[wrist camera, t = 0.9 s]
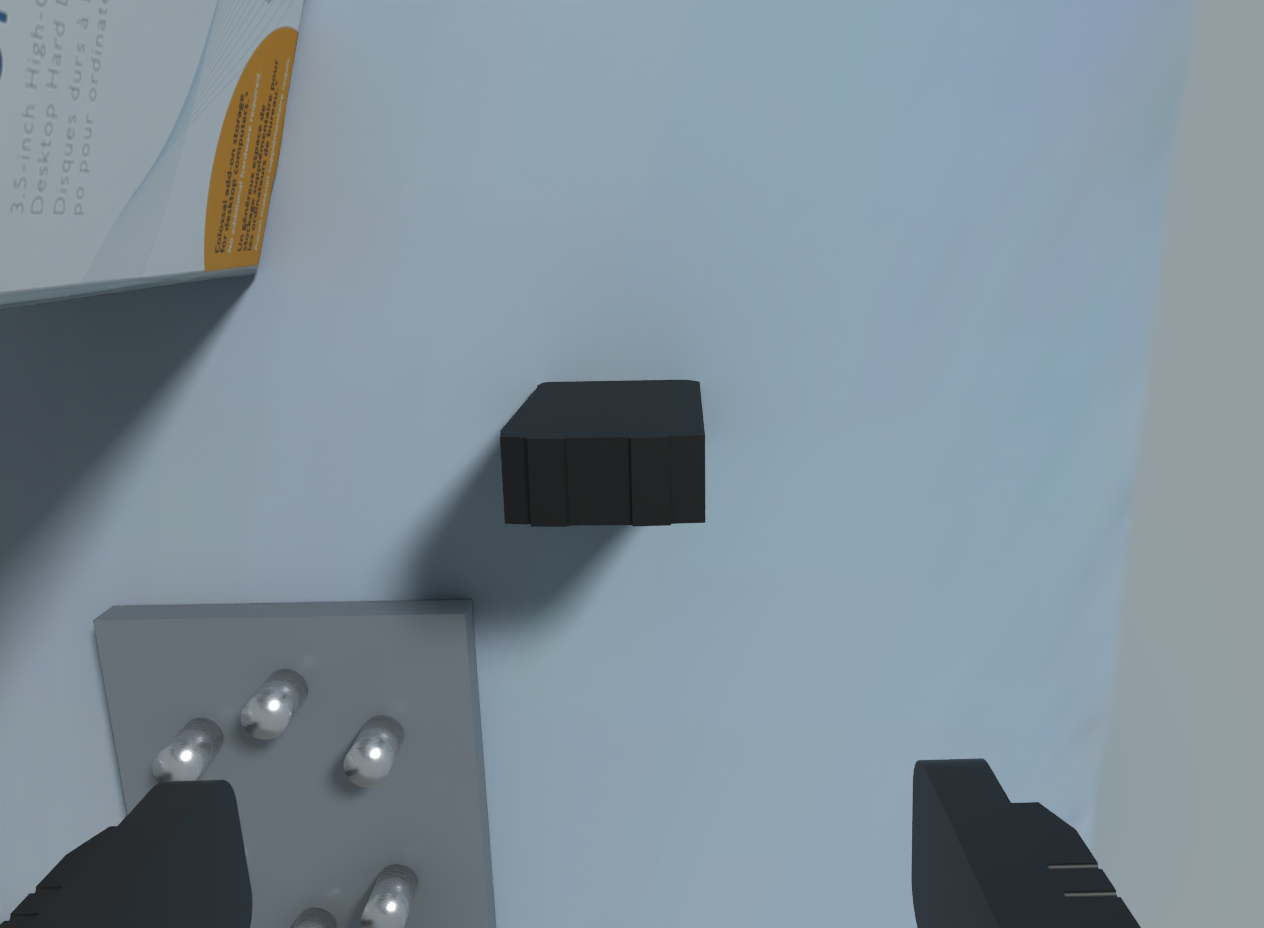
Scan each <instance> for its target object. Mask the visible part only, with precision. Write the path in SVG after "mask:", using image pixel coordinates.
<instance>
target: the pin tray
mask: <svg viewBox="0 0 1264 928" xmlns="http://www.w3.org/2000/svg"><path fill="white" fill-rule="evenodd" d="M93 623H94V628H95V634H96V640H97V645H98V651H99V657H100V662H101V668H102V674H103V679H104V685H105V691H106V696H107V702H108V708H109V713H110V719H111V725H112V730H113V736H114V742H115V747H116V753H117V759H118V764H119V770H120V776H121V781H122V787H123V793H124V798H125V804H126V810H127V815H128V814H129V813H130V812H131V811H132V810H133V809H134V807H135V806H136V805H137V804H138V803H139V802H140V801H141V800H142V799H143V797H144V796H145V795H146V794H147V793H148V792H149V791H150V790H151V789H152V788H153V787H154V786H155V785H156V784H158V783H160V782H164V781H196V780H226V781H227V782H229V783H230V785H231V786H232V788H233V790H234V793H235V796H236V800H237V806H238V812H239V818H240V824H241V830H242V836H243V842H244V848H245V854H246V860H247V866H248V872H249V878H250V884H251V890H252V902H253V905H252V919H251V925H250V928H496V919H495V905H494V892H493V879H492V865H491V852H490V838H489V825H488V812H487V798H486V785H485V771H484V758H483V745H482V731H481V718H480V704H479V691H478V678H477V664H476V651H475V637H474V624H473V611H472V599H470V600H415V601H360V602H305V603H251V604H196V605H141V606H112V607H111V608H109V609H108V610H107V611H105V612H104V613H103V614H101V615H100V616H99V617H97V618H96V619H94V620H93Z"/></svg>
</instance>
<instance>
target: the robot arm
mask: <svg viewBox="0 0 1264 928" xmlns="http://www.w3.org/2000/svg"><path fill="white" fill-rule="evenodd" d="M912 894H913V904H914V911H915V917H916V923H917V927H918V928H1141V927H1140V926H1139V924H1138V923H1137V921H1136V920H1135V919H1134V917H1133V915H1132V914H1131V912H1130V911H1129V909H1128V908H1127V906H1126V905H1125V903H1124V902H1123V900H1122V899H1121V897H1117V895H1116V890H1115V888H1114V887H1113V885H1112V884H1111V882H1110V881H1109V879H1108V878H1107V876H1106V875H1105V873H1104V872H1103V870H1102V869H1098V864H1097V861H1096V859H1095V858H1094V856H1093V855H1092V853H1091V852H1090V850H1089V849H1088V847H1087V846H1086V844H1085V843H1084V841H1083V840H1082V838H1081V837H1080V835H1079V834H1078V832H1077V831H1076V830H1075V829H1074V828H1073V827H1071V826H1070V825H1069V824H1067V823H1066V822H1064V821H1063V820H1062V819H1060V818H1059V817H1058V816H1056V815H1055V814H1053V813H1052V812H1051V811H1049V810H1048V809H1047V808H1045V807H1044V806H1042V805H1041V804H1040V803H1038V802H1034V803H1011V802H1010V800H1009V799H1008V797H1007V795H1006V794H1005V792H1004V790H1003V788H1002V787H1001V785H1000V783H999V782H998V780H997V778H996V776H995V775H994V773H993V771H992V770H991V768H990V766H989V765H988V763H987V762H986V761H985V760H984V759H949V760H919V761H917V762H916V764H915V768H914V775H913V821H912ZM252 905H253V902H252V890H251V884H250V878H249V872H248V866H247V860H246V854H245V848H244V842H243V836H242V830H241V824H240V818H239V812H238V806H237V800H236V796H235V793H234V790H233V788H232V786H231V785H230V783H229V782H227V781H226V780H196V781H164V782H160V783H158V784H156V785H155V786H154V787H153V788H152V789H151V790H150V791H149V792H148V793H147V794H146V795H145V796H144V797H143V799H142V800H141V801H140V802H139V803H138V804H137V805H136V806H135V807H134V809H133V810H132V811H131V812H130V813H129V814H128V815H127V816H126V817H125V819H124V820H123V821H122V822H121V823H120V824H119V825H118V826H112V827H108V828H107V829H105V830H104V831H102V832H101V833H99V834H97V835H96V836H94V837H93V838H91V839H90V840H88V841H87V842H85V843H84V844H82V845H80V846H79V847H77V848H76V849H74V850H73V851H71V852H70V853H68V854H67V855H66V856H65V857H64V858H63V859H62V860H61V861H60V862H59V863H58V864H57V865H56V866H55V867H54V868H53V869H52V870H51V872H50V873H49V874H48V875H47V876H46V877H45V878H44V879H43V880H42V881H41V882H40V883H39V884H38V885H37V886H36V892H35V893H32V894H29V895H28V896H27V897H26V898H25V899H24V900H23V901H22V902H21V903H20V904H19V906H18V907H17V908H16V909H15V910H14V911H13V912H12V913H11V917H10V920H9V921H4V922H3V923H2V924H1V925H0V928H250V925H251V919H252Z"/></svg>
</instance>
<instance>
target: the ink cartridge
mask: <svg viewBox="0 0 1264 928" xmlns="http://www.w3.org/2000/svg"><path fill="white" fill-rule="evenodd" d="M500 442H501V460H502V478H503V495H504V513H505V523H507V524H531V526H562V527H566V526H569V525H633V526H659V525H671V524H675V523H703V522H705V432H704V422H703V412H702V403H701V393H700V383H699V382H697V381H691V380H643V381H584V382H546V383H541V384H540V385H538V386H537V389H536V390H535V391H534V392H533V393H532V394H531V396H530V397H529V398H528V399H527V400H526V401H525V403H524V404H523V405H522V406H521V407H520V409H519V410H518V411H517V412H516V413H515V414H514V416H513V417H512V418H511V419H510V420H509V421H508V423H507V424H506V425H505V426H504V427H503V429H502V430H501V437H500Z"/></svg>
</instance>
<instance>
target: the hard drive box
mask: <svg viewBox="0 0 1264 928" xmlns="http://www.w3.org/2000/svg"><path fill="white" fill-rule="evenodd" d="M303 4H304V0H0V309H7V308H14V307H21V306H29V305H36V304H42V303H49V302H56V301H63V300H70V299H76V298H83V297H90V296H97V295H104V294H111V293H118V292H126V291H133V290H140V289H146V288H153V287H159V286H166V285H174V284H181V283H189V282H197V281H203V280H210V279H217V278H225V277H235V276H247V275H253V274H255V273H256V271H257V268H258V263H259V258H260V253H261V247H262V241H263V236H264V230H265V224H266V219H267V213H268V207H269V202H270V196H271V191H272V187H273V183H274V180H275V176H276V172H277V166H278V159H279V153H280V147H281V141H282V134H283V126H284V118H285V111H286V104H287V97H288V91H289V85H290V79H291V73H292V68H293V62H294V56H295V50H296V44H297V38H298V33H299V26H300V20H301V15H302V9H303Z"/></svg>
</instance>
